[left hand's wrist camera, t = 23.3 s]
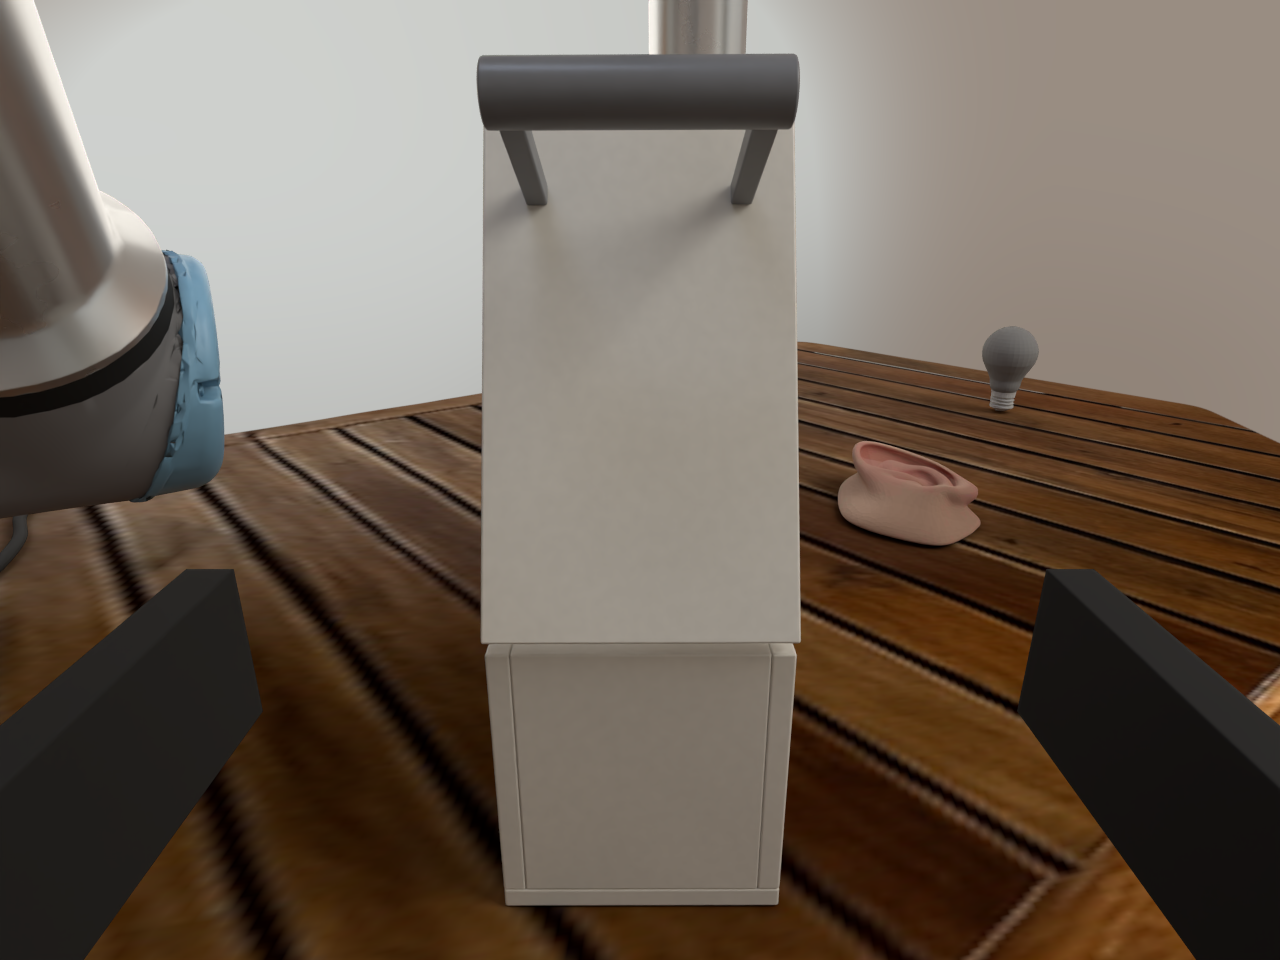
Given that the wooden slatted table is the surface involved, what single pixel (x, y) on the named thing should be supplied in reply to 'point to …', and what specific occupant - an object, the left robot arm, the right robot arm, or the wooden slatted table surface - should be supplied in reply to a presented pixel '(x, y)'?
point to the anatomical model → (907, 496)
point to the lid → (639, 349)
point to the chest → (641, 771)
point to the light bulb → (1008, 363)
